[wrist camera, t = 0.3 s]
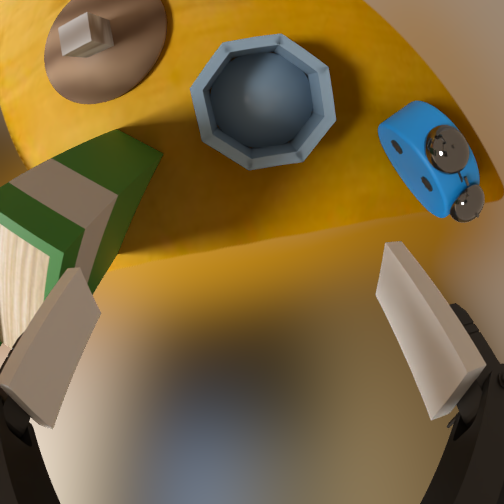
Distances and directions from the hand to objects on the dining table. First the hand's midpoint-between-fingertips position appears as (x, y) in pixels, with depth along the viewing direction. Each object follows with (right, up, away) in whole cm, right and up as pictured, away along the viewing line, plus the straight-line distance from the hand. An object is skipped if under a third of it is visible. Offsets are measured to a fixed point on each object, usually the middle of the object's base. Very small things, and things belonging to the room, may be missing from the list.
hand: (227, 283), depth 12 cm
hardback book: (-18, +9, +26) cm, 33 cm away
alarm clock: (+21, +16, +23) cm, 35 cm away
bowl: (+2, +19, +20) cm, 28 cm away
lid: (-18, +28, +14) cm, 37 cm away
